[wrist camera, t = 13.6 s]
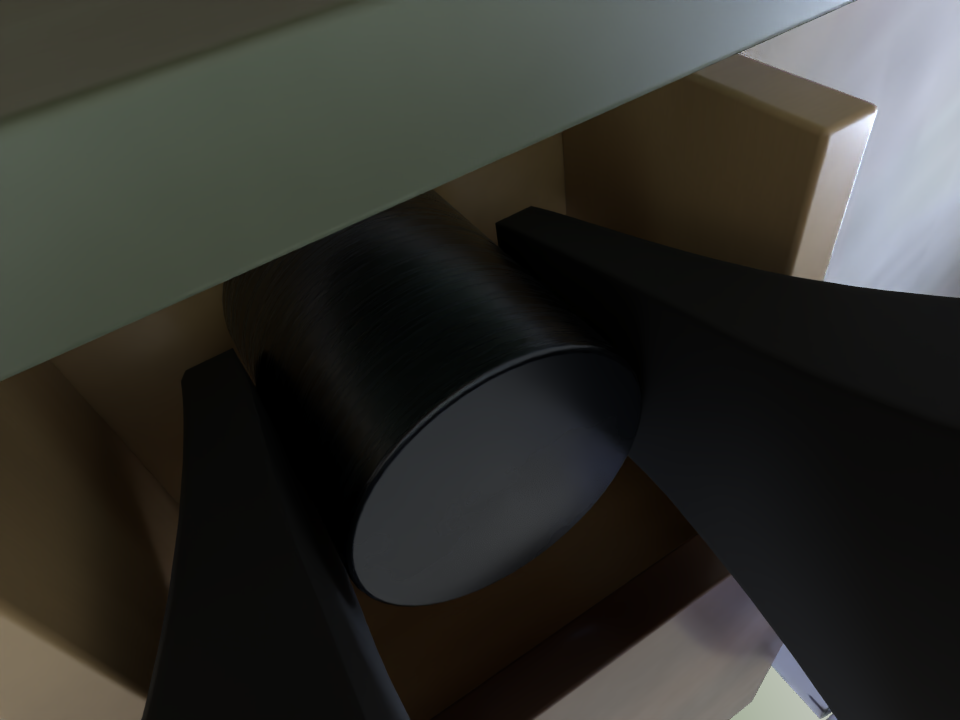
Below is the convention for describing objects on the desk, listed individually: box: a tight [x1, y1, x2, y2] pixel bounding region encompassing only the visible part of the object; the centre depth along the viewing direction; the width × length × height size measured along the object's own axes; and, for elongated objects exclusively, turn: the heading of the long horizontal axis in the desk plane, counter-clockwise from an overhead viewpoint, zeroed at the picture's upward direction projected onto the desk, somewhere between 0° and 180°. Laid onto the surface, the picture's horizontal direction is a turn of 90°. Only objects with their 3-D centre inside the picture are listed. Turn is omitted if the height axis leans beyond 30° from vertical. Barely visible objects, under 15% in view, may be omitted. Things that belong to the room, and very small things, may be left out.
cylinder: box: [222, 189, 642, 607], centre depth 9 cm, size 4×4×4 cm
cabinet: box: [430, 533, 783, 720], centre depth 16 cm, size 13×12×8 cm
